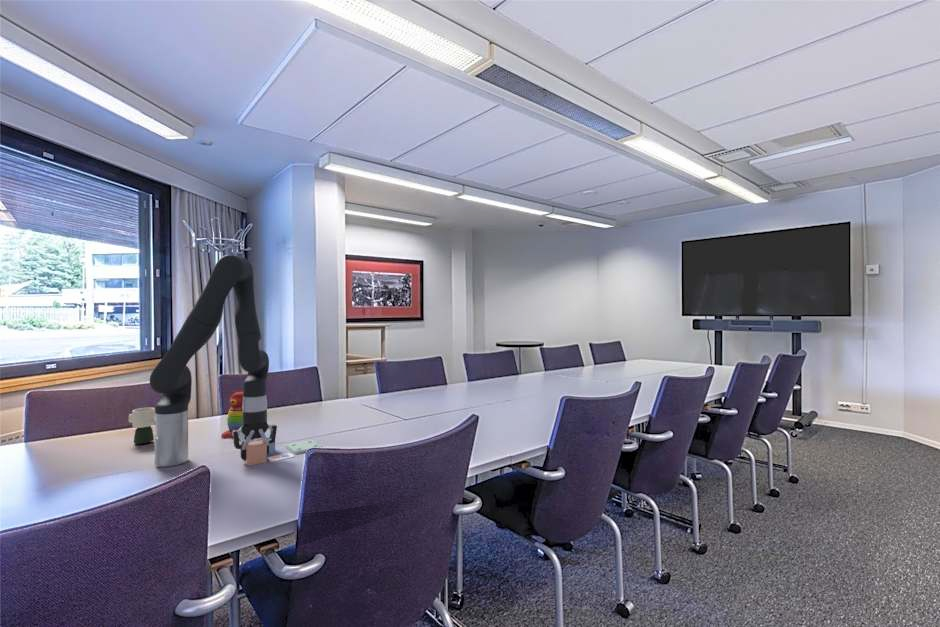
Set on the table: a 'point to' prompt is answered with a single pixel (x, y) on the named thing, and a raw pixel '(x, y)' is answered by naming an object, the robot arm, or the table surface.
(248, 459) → the brick terracotta
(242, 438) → the die
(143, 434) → the character mug
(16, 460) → the table surface
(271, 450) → the brick blue
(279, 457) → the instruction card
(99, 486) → the table surface
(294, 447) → the baseplate
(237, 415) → the stacking bear
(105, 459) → the table surface
